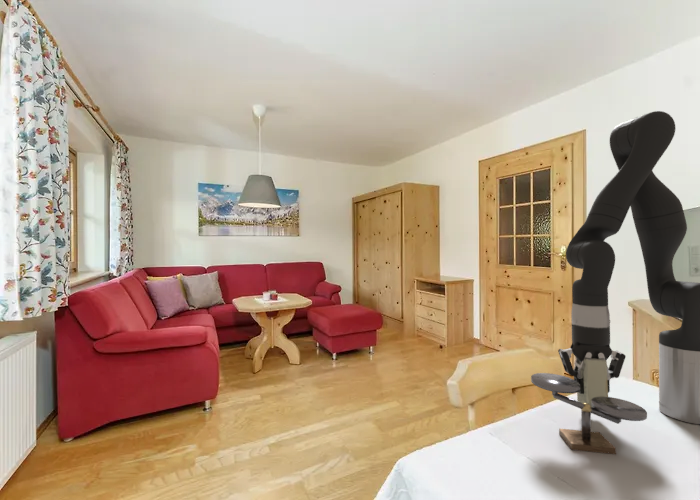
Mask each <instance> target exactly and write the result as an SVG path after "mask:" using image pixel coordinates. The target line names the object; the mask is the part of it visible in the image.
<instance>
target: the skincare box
mask: <svg viewBox="0 0 700 500" xmlns="http://www.w3.org/2000/svg"><path fill="white" fill-rule="evenodd" d="M579 364H581V362H580V361H579ZM607 366H608V361H607V360H599V359H597V358H591V359H584V367H585V369H584V375H583V379H584V394H580V393H579V392H577V394H576V395H577V397H576V399H577V400H576V401H578V402H581V403H588V404H589V405H590V406H591V407H593V406H592V402H591V401H592V399H593V398H594V397H609V393H608V383H607Z"/></svg>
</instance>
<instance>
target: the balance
mask: <svg viewBox="0 0 700 500" xmlns="http://www.w3.org/2000/svg"><path fill="white" fill-rule="evenodd" d="M530 376H531V377H530V379H531V380H530V381H531V383H532V385H534V386H535V387H538V388H540V389H543V390H546V391H549V392H552V393H551V395H552V396H553V399H557V400H559V401H561V402H563V403H566V404H568V405H571V406H572V407H576V408H578V409H580V410H581V417H580V418H581V423H580V424H581V426H580V428H581V430H579V429H569V428H568V429H567V428H559V430H558V431H559V432H558V433H559V435H560V437H561V438H562V439H563V440H564V442H565V443H566V445H567V446H568V447H569V448H570V449H571V450H572V451H580V452H581V451H582V452H591V453H600V454H607V455H608V454H610V455H617V449H616V447H615V445H613V444H612V443H611V442H610V441H609V440H608V439H607V438H606V437H605V436H604V435H603V434H602V433H601V432H600V431H599V432H598V431H592V425H591V424H592V422H591V419H592V417H591V415H592V414H593V415H595V416H597V417H600V418H602V419H605V420H607V421H610V422H612V423H614V424H616V425H617V424H618V425H619V424H621V423H622V420H625V421H628V422H629V421H631V422H641V421H644V420H647V419H648V411H646V409H645V408H644V407H642V406H640V405H639V404H636V403H634V402H632V401H628V400H625V399H621V398H617V397H611V396H608V397H594V398H593V399H592V401H591V402H592V406H593V407H591V406H590V405H589V404H588V403H581V402H578V400H576V399H573V398H570V397H568V396H565V395H563V394H576V393H577V392H579V391H580V384H579V383H578V382H577V381H575V380H574V378H571V377H568V376H565V375H560V374H558V373H557V374H556V373H549V372H538V373H533V374H532V375H530Z"/></svg>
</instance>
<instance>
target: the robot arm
mask: <svg viewBox="0 0 700 500" xmlns="http://www.w3.org/2000/svg"><path fill="white" fill-rule="evenodd" d="M609 135H610V136H609V148H610V151H611V155H612V157H613V159H614V162H615V164H616V167H617V169H618V171H617V172H616V174H615V175H614V176H613V177H612V178H611V179H610V180H609V182H608V183H606V185H605V186H604V187H603V188H602V189H601V190H600V192H599V193H598V194H597V196H596V198H595V200H594V202H593V203H592V206H591V209H590V211H589V212H588V214H587V216H586V217H587V218H586V220H585V221H584V223H583V224H582V225H581V227H580V228H579V229H578V231H577V232H576V233H575V234H574V236H573V237H572V238H571V240H569V241H570V242H569V243H568V245H567V247H566V251H565V259H566V262H567V263H568V264H569V265H570V266H571V267H572V268H575V269H580V270H582V273H581V278H580V279H576V280H574V282H573V283H572V287H571V288H572V289H571V290H572V305H571V306H572V307H571V341H572V342H571V345H570V347H569V348H565V349H562V348H559V349H558V350H557V351H558V352H557V353H558V355H559V357H560V359H561V363H562V366H563V369H564V371H565V373H567V374H568V375H569V376H571V377H572V376H573V380H575V381H577V382H578V383H579V384H580V391H579V393H580V394H584V379H583V375H584V369H585V367H584V359H591V358H597V359H599V360H606V361H607V360H608V359H609V357H610V358H611V360H610V363H609V365H607V383H608V394H609V393H610V392H611V390H610V388H611V387H610V384H611V383H610V381H611V379H614V378H615V379H617V378H619V377H620V374H621V372H622V369H623V365H624V362H625V360H626V355H625V354H624V353H623V352H621V351H619V350H614V349H613V350H612V348H611V346H610V345H611V318H610V316H611V315H610V309H609V289H608V288H609V285H610V282H611V279H612V276H613V272H614V269H615V264H616V254H615V252H614V251H615V250H614V249H613V247H612V246H611V244H610V243H608V242H607V241H605V240H606V239H607V238H609V237H612V236H614V235H616V234H617V233H619V231H620V229H621V227H622V226H623V223H624V222H625V219H626V217H627V215H628V212H629V210H630V209H631V214H632V215H631V216H632V219H633V223H634V227H635V231H636V233H637V234H636V235H637V236H638V237H637V238H638V241H639V244H640V249H641V253H642V258H643V264H644V269H645V278H646V283H647V284H646V285H647V291H648V293H647V294H648V298H649V302H650V304H651V306H652V308H653V310H654V311H655V312H656V313H658V314H660V315H661V316H662V315H663V316H665V317H671V318H676V319H682V320H681V326H680V327H679V328H677V329H668V330H666V329H665V330H662V331H660V332H659V335H658V400H659V401H658V408H659V409H658V410H659V411H660V412H661V413H662V414H664V415H666V416H668V417H670V418H672V419H674V420H678V421H681V422H684V423H685V422H686V423H689V424H695V425H700V282H695V281H682V280H680V281H679V280H676V278H675V275H674V269H673V261H674V257H675V255H676V253H677V251H678V249H679V247H680V246H681V244H682V243H683V240H684V239H685V237H686V234H687V231H688V224H687V221H686V216H685V211H684V209H683V205H682V202H681V201H680V199H679V197H677V195H676V194H675V193H674V192H673V191H672V190H671V189H670V188H669V187H668V186H666V184H664V182H662V181H661V180H660V179H659V178H658V177H657V176H656V174H655V173H654V172H653V170H654V168H655V166H656V165H657V164H658V163H659V161H660V159H661V158H662V156H663V155H664V154H665V152H666V150H667V149H668V148H669V146H670V144H671V143H672V141H673V139H674V137H675V135H676V123H675V120H674V118H673V117H672V115H670V113H668V112H665V111H661V110H655V111H651V112H648V113H644V114H642V115H639V116H636V117H634V118H631V119H629V120H626V121H623V122H621V123H619V124H618V125H616V126H615V127H614V128H613V129H612V131H611V132H610V134H609ZM572 355H573V356H574V357H575V361H574V367H573V365H572V362H571V358H572ZM579 361H580V362H581V364H579Z"/></svg>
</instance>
